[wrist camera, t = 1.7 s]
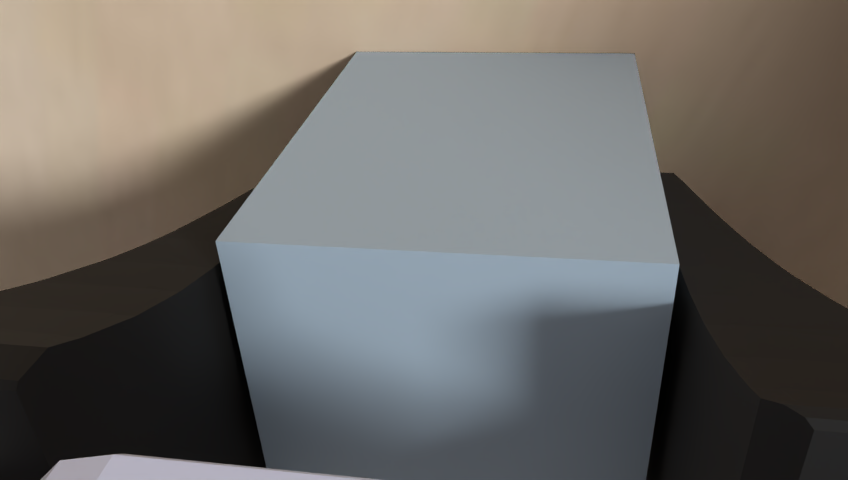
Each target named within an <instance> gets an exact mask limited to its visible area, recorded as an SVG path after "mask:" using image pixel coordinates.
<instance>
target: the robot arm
mask: <svg viewBox="0 0 848 480" xmlns="http://www.w3.org/2000/svg"><path fill="white" fill-rule="evenodd" d="M660 175H661V180H662V185H663V189H664V194H665V199H666V203H667V208H668V213H669V217H670V222H671V227H672V231H673V236H674V241H675V245H676V250H677V255H678V259H679V264H680V265H679V271H678V278H677V284H676V290H675V297H674V303H673V310H672V316H671V322H670V329H669V335H668V342H667V348H666V354H665V361H664V367H663V374H662V380H661V386H660V393H659V399H658V406H657V412H656V418H655V425H654V431H653V438H652V444H651V450H650V457H649V463H648V470H647V476H646V480H848V309H847V308H845V307H843V306H842V305H840V304H838V303H836V302H834V301H833V300H831V299H829V298H828V297H826V296H824V295H823V294H821V293H820V292H818V291H816V290H815V289H813V288H812V287H810V286H808V285H807V284H805V283H804V282H802V281H800V280H799V279H797V278H796V277H794V276H793V275H791V274H790V273H788V272H787V271H786V270H784V269H783V268H781V267H780V266H778V265H777V264H776V263H774V262H773V261H772V260H771V259H769V258H768V257H767V256H765V255H764V254H763V253H761V252H760V251H759V250H758V249H756V248H755V247H754V246H752V245H751V244H750V243H749V242H747V241H746V240H745V239H744V238H743V237H741V236H740V235H739V234H738V233H737V232H736V231H734V230H733V229H732V228H731V227H730V226H729V225H728V224H727V223H725V222H724V221H723V220H722V219H721V218H720V217H719V216H718V215H717V214H716V213H715V212H713V211H712V210H711V209H710V208H709V207H708V206H707V205H706V204H705V203H704V202H703V201H702V200H701V199H700V198H699V197H698V196H697V195H696V194H695V193H694V192H693V191H692V190H691V189H690V188H689V187H688V186H687V185H686V184H685V183H684V182H683V181H682V180H681V179H680V178H678V177H677V176H676V175H675V174H674V173H660ZM254 189H255V188H253V189H252V190H250V191H248V192H246V193H245V194H243V195H241V196H239V197H238V198H236V199H234V200H232V201H231V202H229V203H227V204H225V205H224V206H222V207H220V208H218V209H216V210H214V211H212V212H210V213H208V214H206V215H205V216H203V217H201V218H199V219H197V220H195V221H193V222H191V223H189V224H187V225H185V226H183V227H181V228H179V229H177V230H176V231H174V232H171V233H169V234H167V235H165V236H163V237H161V238H159V239H156V240H154V241H152V242H149V243H147V244H145V245H142V246H140V247H137V248H135V249H133V250H130V251H128V252H125V253H123V254H120V255H118V256H115V257H112V258H110V259H107V260H104V261H101V262H98V263H95V264H92V265H89V266H86V267H83V268H80V269H76V270H73V271H70V272H67V273H64V274H61V275H58V276H55V277H52V278H49V279H45V280H42V281H38V282H34V283H31V284H27V285H23V286H19V287H15V288H11V289H8V290H3V291H0V480H380V479H371V478H361V477H351V476H341V475H331V474H321V473H311V472H301V471H291V470H281V469H271V468H266V463H265V459H264V454H263V450H262V446H261V441H260V437H259V432H258V428H257V423H256V419H255V415H254V410H253V406H252V401H251V397H250V392H249V388H248V384H247V379H246V375H245V370H244V366H243V361H242V357H241V352H240V348H239V344H238V339H237V335H236V330H235V326H234V321H233V317H232V313H231V308H230V304H229V299H228V295H227V290H226V286H225V282H224V277H223V273H222V268H221V264H220V259H219V255H218V250H217V246H216V242H215V241H216V240H217V238H218V237H219V236H220V234H221V233H222V232H223V230H224V229H225V228H226V226H227V225H228V224H229V222H230V221H231V220H232V218H233V217H234V216H235V214H236V213H237V212H238V210H239V209H240V208H241V206H242V205H243V204H244V202H245V201H246V199H247V198H248V197H249V195H250V194H251V193H252V191H253V190H254Z"/></svg>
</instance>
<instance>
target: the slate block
mask: <svg viewBox="0 0 848 480" xmlns="http://www.w3.org/2000/svg"><path fill="white" fill-rule="evenodd" d="M215 242H216V246H217V250H218V255H219V259H220V264H221V268H222V273H223V277H224V282H225V286H226V290H227V295H228V299H229V304H230V308H231V313H232V317H233V321H234V326H235V330H236V335H237V339H238V344H239V348H240V352H241V357H242V361H243V366H244V370H245V375H246V379H247V384H248V388H249V392H250V397H251V401H252V406H253V410H254V415H255V419H256V423H257V428H258V432H259V437H260V441H261V446H262V450H263V454H264V459H265V463H266V468H271V469H281V470H291V471H301V472H311V473H321V474H331V475H341V476H351V477H361V478H371V479H380V480H646V476H647V470H648V463H649V457H650V450H651V444H652V438H653V431H654V425H655V418H656V412H657V406H658V399H659V393H660V386H661V380H662V374H663V367H664V361H665V354H666V348H667V342H668V335H669V329H670V322H671V316H672V310H673V303H674V297H675V290H676V284H677V278H678V271H679V265H680V264H679V259H678V255H677V250H676V245H675V241H674V236H673V231H672V227H671V222H670V217H669V213H668V208H667V203H666V199H665V194H664V189H663V185H662V180H661V175H660V170H659V166H658V161H657V156H656V152H655V147H654V142H653V138H652V133H651V128H650V124H649V119H648V114H647V110H646V105H645V100H644V96H643V91H642V86H641V82H640V77H639V72H638V68H637V63H636V58H635V54H625V53H465V52H356V53H355V55H354V56H353V57H352V59H351V60H350V61H349V63H348V64H347V65H346V67H345V68H344V69H343V71H342V72H341V73H340V75H339V76H338V77H337V79H336V80H335V81H334V83H333V84H332V85H331V87H330V88H329V89H328V91H327V92H326V94H325V95H324V96H323V98H322V99H321V100H320V102H319V103H318V104H317V106H316V107H315V108H314V110H313V111H312V112H311V114H310V115H309V116H308V118H307V119H306V120H305V122H304V123H303V124H302V126H301V127H300V128H299V130H298V131H297V132H296V134H295V135H294V136H293V138H292V139H291V140H290V142H289V143H288V144H287V146H286V147H285V149H284V150H283V151H282V153H281V154H280V155H279V157H278V158H277V159H276V161H275V162H274V163H273V165H272V166H271V167H270V169H269V170H268V171H267V173H266V174H265V175H264V177H263V178H262V179H261V181H260V182H259V183H258V185H257V186H256V187H255V189H254V190H253V191H252V193H251V194H250V195H249V197H248V198H247V199H246V201H245V202H244V204H243V205H242V206H241V208H240V209H239V210H238V212H237V213H236V214H235V216H234V217H233V218H232V220H231V221H230V222H229V224H228V225H227V226H226V228H225V229H224V230H223V232H222V233H221V234H220V236H219V237H218V238H217V240H216V241H215Z"/></svg>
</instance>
